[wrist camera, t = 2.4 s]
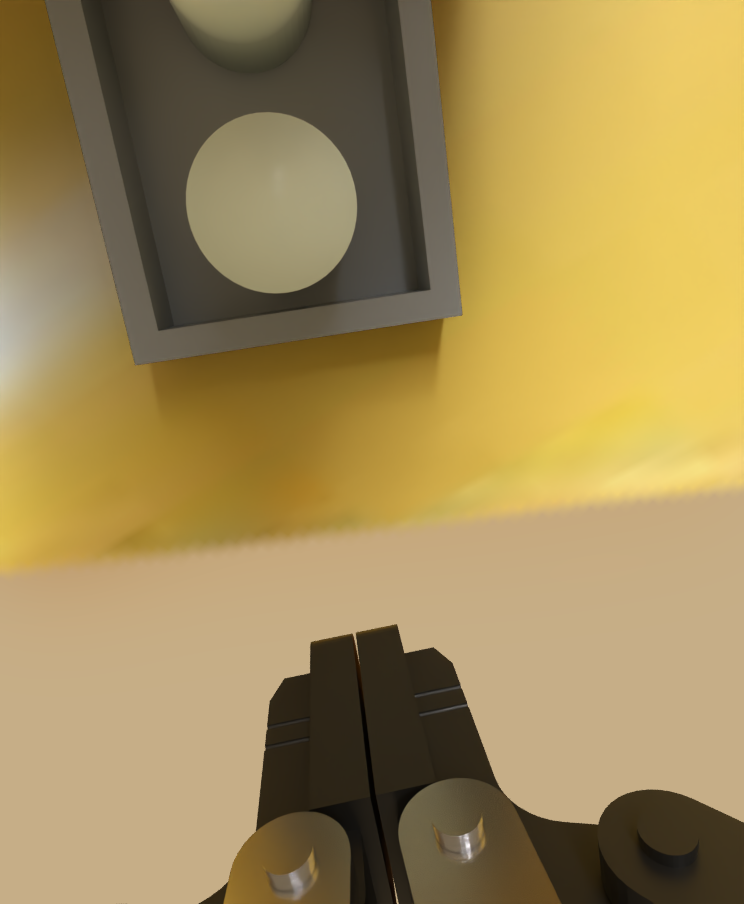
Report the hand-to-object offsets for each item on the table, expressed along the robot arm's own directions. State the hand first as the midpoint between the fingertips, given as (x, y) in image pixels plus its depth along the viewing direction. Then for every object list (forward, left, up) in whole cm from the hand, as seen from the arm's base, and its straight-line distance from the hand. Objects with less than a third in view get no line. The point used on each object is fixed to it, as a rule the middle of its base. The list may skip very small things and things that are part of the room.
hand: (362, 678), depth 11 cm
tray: (-11, 0, -11) cm, 15 cm away
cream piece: (-8, 0, -10) cm, 13 cm away
